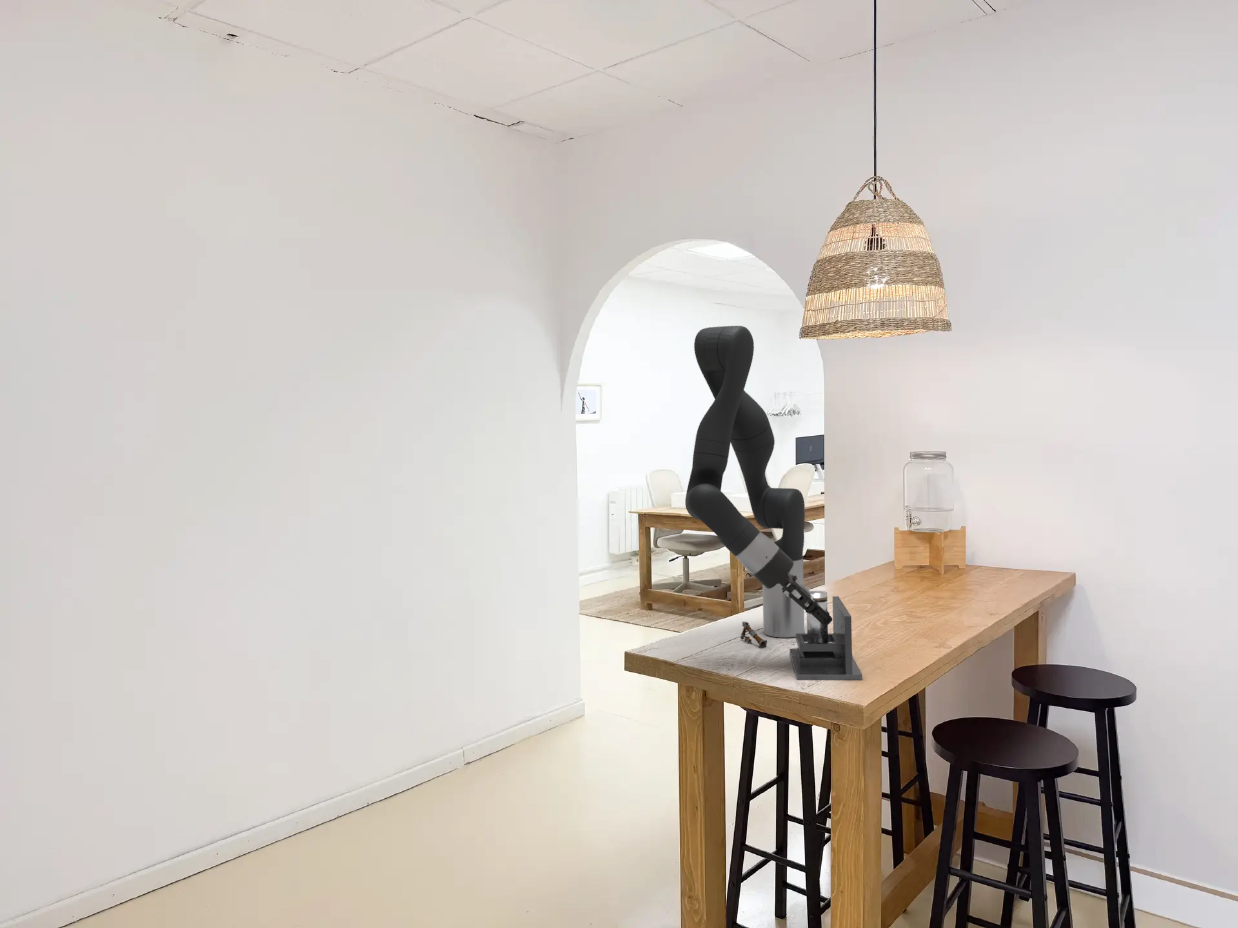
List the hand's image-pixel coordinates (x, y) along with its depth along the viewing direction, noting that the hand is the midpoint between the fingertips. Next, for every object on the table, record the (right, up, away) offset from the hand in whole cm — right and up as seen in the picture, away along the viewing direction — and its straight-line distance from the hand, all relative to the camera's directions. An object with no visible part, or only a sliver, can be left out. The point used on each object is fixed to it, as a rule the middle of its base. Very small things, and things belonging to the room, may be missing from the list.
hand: (827, 619), depth 169 cm
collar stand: (0, -9, +1) cm, 9 cm away
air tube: (-2, -5, 0) cm, 5 cm away
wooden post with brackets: (-12, -9, +19) cm, 24 cm away
